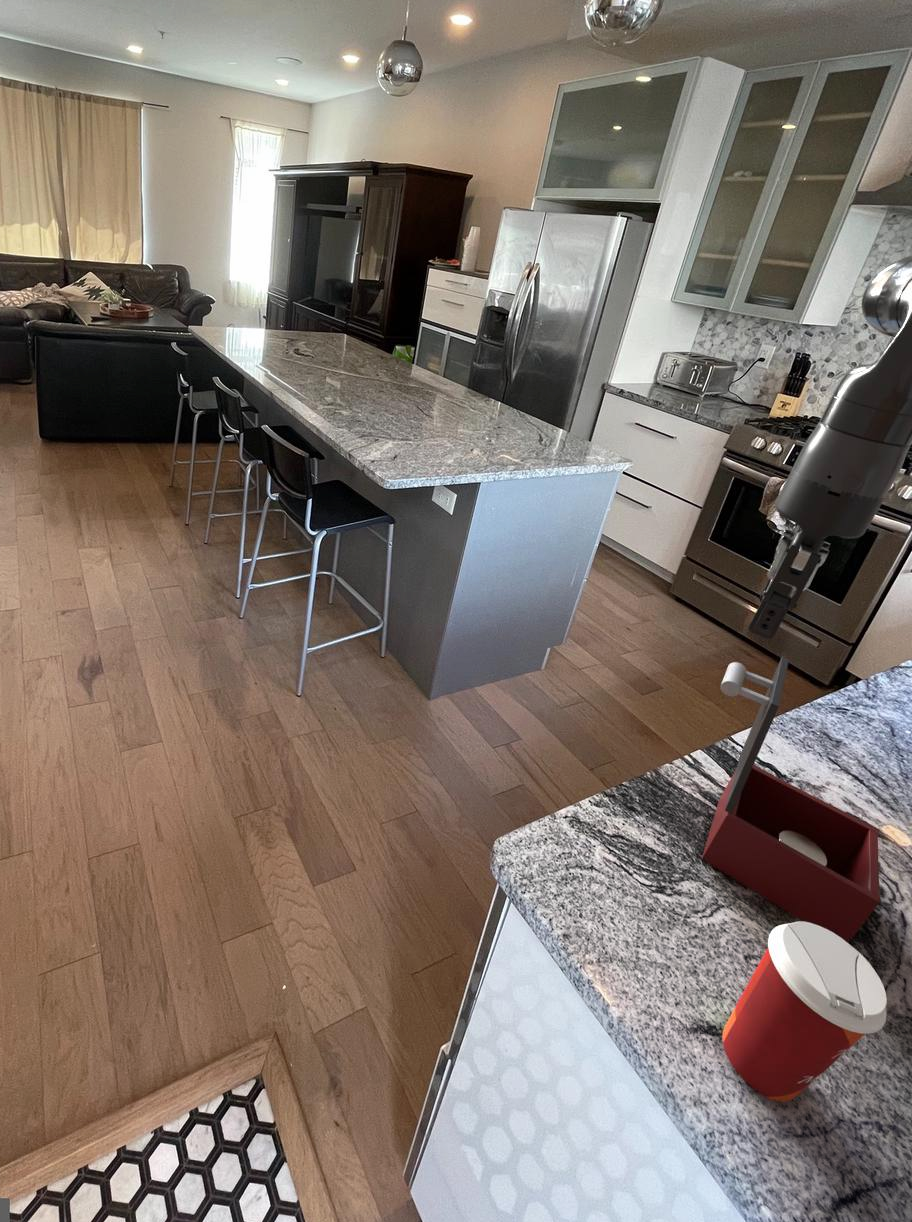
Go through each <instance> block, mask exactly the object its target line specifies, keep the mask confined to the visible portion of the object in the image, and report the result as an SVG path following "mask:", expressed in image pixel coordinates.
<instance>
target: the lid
mask: <svg viewBox="0 0 912 1222" xmlns="http://www.w3.org/2000/svg"><path fill="white" fill-rule="evenodd" d="M789 661H790V659H789V658H787V657H785V656H781V657H780V661H779V662H778V665H777V667H776V669H775V672H774V673H773V676H772V679H768V678H766V677H763V676H760V675H758V674H756V673H753V672H751V671H748V670H747V667H746V666H745V665H744V664H742V663H740V662H737V661H734V662H731V663H729V664H728V666H727V668H726V670H725V674H724V677H723V679H722V681H721V684H720V690H721V692H722V693H723V694H724V695H726V696H728V697H737V696H741V697H744V698H746V699H748V700H751V701H753V702H756V703H759V704H760V707H759V710H758V712H757V714H756V717H755V719H754V722H753V724H752V726H751V728H750V731H749V733H748V735H747V737H746V740H745V742H744V745H743V747H742V750H741V752H740V753H739V757H738V761H737V764H736V768H735V771H736V772H735V771H734V772H735V775H734V779H733V782H732V786H731V790H730V793H729V797H728V800H727V804H726V808H725V811H726V812H728V813H730V814H732V813H733V810H734V808H735V806H736V804H737V801H738V799H739V797H740V794H741V792H742V790H743V788H744V785H745V783H746V781H747V778H748V776H749V774H750V772H751V769H752V767H753V765H754V766H755V762H756V760H757V758H758V755H759V753H760V752H761V749H762V746H763V744H764V742H765V739H766V737H767V735H768V733H769V731H770V729H771V726H772V724H773V722H774V719H775V717H776V714H777V712H778V710H779V708H780V703H781V700H782V695H783V690H784V685H785V681H786V675H787V670H788V667H789ZM745 680H746V681H749V682H752V683H755V684H757V685H759V686H762V687H764V688H767V690H766V693H765V695H763V694H761V693H758V692H756V691H754V690H751V689H749V688H746V687H743V684H744V682H745Z"/></svg>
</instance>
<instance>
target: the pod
mask: <svg viewBox="0 0 912 1222" xmlns="http://www.w3.org/2000/svg"><path fill="white" fill-rule="evenodd" d="M778 840H779V841H781V842H783V843H785V844H786V845H788V846H790V847H792V848H794V849H795V850H797V851H799V852H801V853H802V854H804V855H806V856H808V857H809V858H811V859H813V860H815V861H817V862H818V863H820V864H822V865H824V866H825V867H826V865H827V858H826V856H825V854H824V853H823V851H822V850H821V849H820V848H819V847H818V846H817V845H816V844H815V843H814V842H813V841H811V840H810V839H808V838H807V837H805V836H803V835H801V834H799V833H797V832H793V831H782V832H781V833H780V834H779V836H778Z"/></svg>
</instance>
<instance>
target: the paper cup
mask: <svg viewBox="0 0 912 1222" xmlns="http://www.w3.org/2000/svg"><path fill="white" fill-rule="evenodd" d="M749 979H750V980H749V981H748V983H747V985H746V986H745V989H744V990H743V992H742V994H741V996H740V998H739V999H738V1001H737V1003H736V1004H735V1006H734V1008H733V1011H732V1012H731V1014H730V1016H729V1018H728V1020H727V1022H726V1024H725V1025H724V1028H723V1030H722V1035H721V1036H722V1037H721V1038H722V1046H723V1048H724V1052H725V1054H726V1056H727V1059H728V1061H729V1062H730V1064H731V1066H732V1067H733V1069H734V1070H735V1071H736V1073H737V1074H738V1075H739V1076H740V1077H741V1079H742V1080H743V1081H744V1082H745V1083H746V1084H747V1085H748V1086H750V1087H751V1088H752V1089H753V1090H754V1091H755V1092H757V1093H758V1094H760V1095H762V1096H763V1097H765V1098H767V1099H769V1100H772V1101H775V1102H780V1103H781V1102H782V1103H785V1102H790V1101H791V1100H793V1099H794V1098H795V1097H797V1096H798V1095H799V1094H801V1092H803V1091H804V1090H805V1089H807V1088H808V1087H809V1086H810V1085H811V1084H812V1083H813V1082H814V1081H815V1080H816V1079H818V1078H819V1077H820V1076H821V1075H822V1074H823V1073H824V1072H826V1070H828V1069H829V1068H830V1067H831V1066H832V1065H834V1063H836V1061H838V1060H839V1059H840V1058H841V1057H842V1056H843V1055H844V1054H846V1052H848V1050H849V1049H851V1048H852V1047H853V1046H854V1045H855V1044H856V1043H858V1042H859V1041H860V1040H861V1039H862V1038H863V1037H864V1036H865V1035H866V1034H867V1035H869V1034H874V1033H876V1032H879V1031H881V1029H882V1028H883V1027H884V1026H885V1024H886V1021H887V1003H888V1002H887V1001H888V1000H887V998H888V997H887V993H886V990H885V987H884V984H883V982H882V980H881V978H880V976H879V975H878V973H877V972H876V970H875V969H874V968H873V966H872V965H871V963H870V962H869V961H868V960H867V959H866V958H865V956H863V954H861V953H860V951H858V950H857V949H856V948H855V947H853V946H852V945H851V944H849V943H847V942H846V941H844V940H843V939H842V938H841V937H839V936H837V935H836V934H834V933H833V932H831V931H829V930H827V929H825V928H823V927H820V926H818V925H815V924H812V923H808V922H804V921H795V922H794V921H793V922H791V923H784V924H780V925H777V926H775V927H774V928H773V929H771V931H770V933H769V935H768V939H767V948H766V950H765V952H764V954H763V956H762V958H761V960H760V962H759V963H758V965H757V967H756V968H755V970H754V972H753V974H752V976H751V977H750V978H749Z"/></svg>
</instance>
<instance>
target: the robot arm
mask: <svg viewBox="0 0 912 1222" xmlns="http://www.w3.org/2000/svg"><path fill="white" fill-rule="evenodd" d="M861 313H862V315H863V318H864V319H865V321H866V323H868V325H869V326H870V327H871V328H873V329H874V330H875V331H877V332H879V333H880V334H883V335H885V336H889V337H892V338H893V339H891V341H890V342H889V344H888V345H887V347H886V348H885V349H884V350H883V351H882V353H881V354H880V355H879V357H878V358H877V359H876V360H875V361H874V362H872V363H864V364H859V365H855V366H853V367H851V368H850V369H848V370H847V371H846V372H845V373H844V374H843V375H842V377H841V378H840V380H839V382H838V383H837V385H836V387H835V389H834V391H833V392H832V393H833V394H832V395H831V397H830V399H829V401H828V403H827V405H826V407H825V409H824V411H823V413H822V415H821V418H820V419H819V422H818V423H817V425H816V426H815V428H814V429H813V431H812V432H811V434H810V435H809V436H808V438H807V439H806V441H805V442H804V444H803V447H802V448H801V450H800V452H799V454H798V456H797V459H796V460H795V462H794V464H793V467H792V468H791V471H790V473H789V474H788V477H787V479H786V481H785V482H784V485H783V486H782V488H781V491H780V492H779V495H778V496H777V499H776V501H775V504H774V508H775V511H776V512H777V513H778V514H779V515H780V516H782V517H783V518H785V519H786V520H788V521H790V522H791V521H792V522H793V523H794V526H793V527H792V528H791V529H789V528H784V531H783V532H782V534H781V537H780V538H779V540H778V544H777V546H776V548H775V552H774V555H773V561H772V563H771V566H770V567H769V569H768V572H767V573H766V575H767V576H766V577H767V578H768V580H767V582H766V584H765V586H764V588H763V590H762V592H761V594H760V595H759V598H758V599H759V602H760V604H759V605H758V608H757V609H756V611H755V613H754V615H753V617H752V619H751V621H750V622H749V625H748V631H749V632H751V633H753V634H755V635H757V636H760V637H762V638H764V639H767V640H771V639H773V638H774V637H775V635H776V633H777V632H778V630H779V627H780V626H781V624H782V622H783V621H784V619H785V617H786V615H787V614H788V611H790V612H792V611H793V610H794V609H796V608H797V606H798V601H799V599H800V597H801V596H802V593H803V592H804V591H807V589H809V587H810V586H811V583H812V582H813V579H814V578H815V575H816V574H817V571H818V569H819V568H820V567H821V566H823V564H824V563H825V561H826V560H827V558H828V555H829V553H830V550H829V548H830V546H831V543H829V542H827V541H825V540H826V539H827V538H828V537H831V536H833V537H838V538H841V539H858V538H860V537H863V536H864V534H865V533H866V531H867V530H868V528H869V526H870V525H871V523H872V522H873V520H874V518H875V516H876V514H877V513H878V510H879V509H880V507H881V505H882V504H883V502H884V500H885V499H886V497H887V495H888V493H889V491H890V489H891V488H892V486H893V484H894V483H895V482H896V480H897V477H898V475H899V474H900V472H901V470H902V467H903V465H904V462H905V460H906V457H907V454H908V453H909V450H910V448H911V445H912V255H910V256H907V257H904V258H902V259H898V260H897V261H894V262H893V263H891V264H890V265H888V266H886V267H885V268H883V269H882V270H881V271H880V272H878V273H877V274H875V276H874V277H873V278H872V279H871V281H870V282H869V283H868V284H867V286H866V287H865V289H864V291H863V294H862V298H861Z"/></svg>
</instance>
